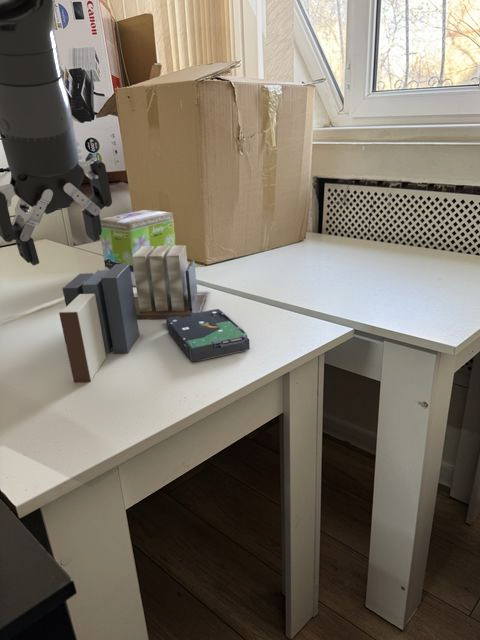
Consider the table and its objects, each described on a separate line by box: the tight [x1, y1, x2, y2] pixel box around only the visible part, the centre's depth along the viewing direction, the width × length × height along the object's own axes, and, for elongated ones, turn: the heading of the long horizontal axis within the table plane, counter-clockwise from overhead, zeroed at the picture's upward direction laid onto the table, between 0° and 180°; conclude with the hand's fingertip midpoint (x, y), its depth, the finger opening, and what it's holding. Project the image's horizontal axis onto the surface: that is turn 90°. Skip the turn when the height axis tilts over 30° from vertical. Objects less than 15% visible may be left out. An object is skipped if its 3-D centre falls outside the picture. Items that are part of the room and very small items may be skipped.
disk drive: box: [165, 308, 251, 362], centre depth 87 cm, size 10×3×15 cm
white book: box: [58, 294, 107, 383], centre depth 77 cm, size 8×2×11 cm, turn 179°
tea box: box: [100, 209, 176, 287], centre depth 121 cm, size 15×10×15 cm, turn 148°
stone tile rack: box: [132, 244, 207, 321], centre depth 100 cm, size 22×11×12 cm, turn 89°
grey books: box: [62, 264, 140, 355], centre depth 85 cm, size 8×9×13 cm
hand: (64, 249), depth 65 cm, fingers open, 8 cm apart
